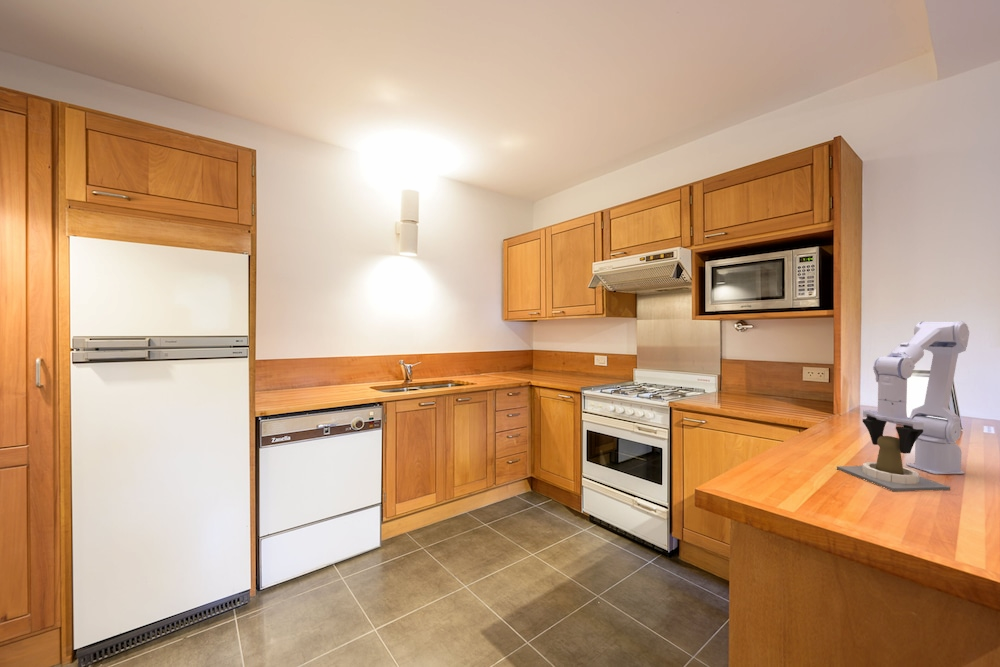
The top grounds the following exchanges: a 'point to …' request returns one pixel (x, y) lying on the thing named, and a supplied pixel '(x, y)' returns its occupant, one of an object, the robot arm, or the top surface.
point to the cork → (889, 455)
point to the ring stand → (893, 478)
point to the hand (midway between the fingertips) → (890, 448)
